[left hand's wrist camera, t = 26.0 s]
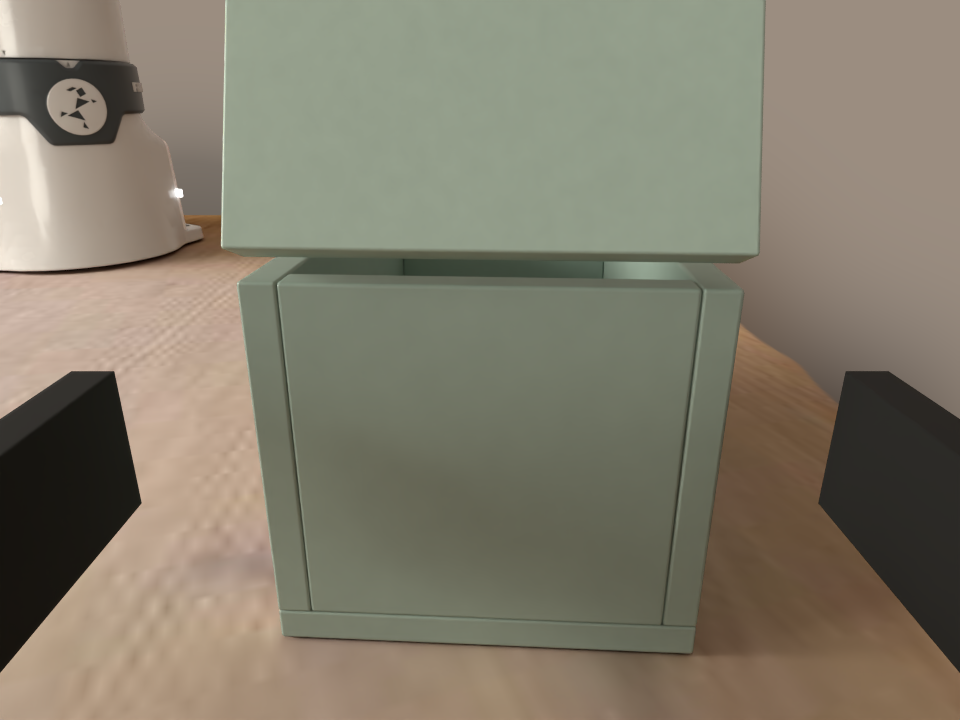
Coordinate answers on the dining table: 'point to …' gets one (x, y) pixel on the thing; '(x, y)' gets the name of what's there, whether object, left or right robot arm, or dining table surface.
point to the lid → (494, 129)
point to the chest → (490, 446)
